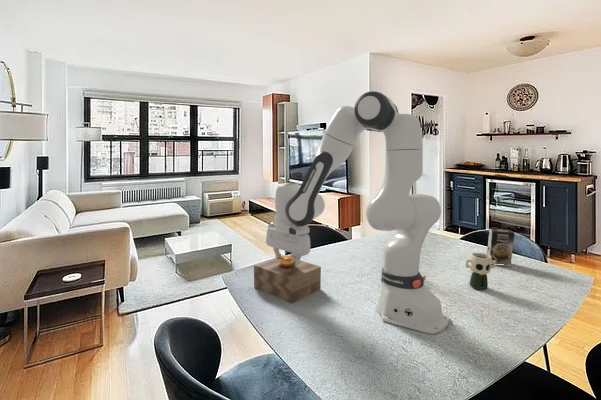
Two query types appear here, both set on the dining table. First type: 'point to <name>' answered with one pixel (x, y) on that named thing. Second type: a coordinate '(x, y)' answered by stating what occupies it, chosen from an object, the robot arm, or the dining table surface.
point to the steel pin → (287, 262)
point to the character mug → (480, 269)
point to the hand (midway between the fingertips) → (287, 261)
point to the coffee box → (500, 245)
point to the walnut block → (287, 279)
